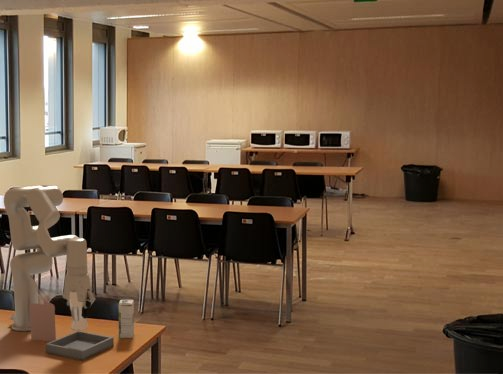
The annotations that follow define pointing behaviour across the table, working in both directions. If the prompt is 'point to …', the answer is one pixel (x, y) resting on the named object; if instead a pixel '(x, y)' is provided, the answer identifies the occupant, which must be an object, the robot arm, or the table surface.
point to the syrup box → (126, 318)
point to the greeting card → (42, 321)
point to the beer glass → (77, 312)
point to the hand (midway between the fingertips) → (79, 316)
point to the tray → (79, 345)
